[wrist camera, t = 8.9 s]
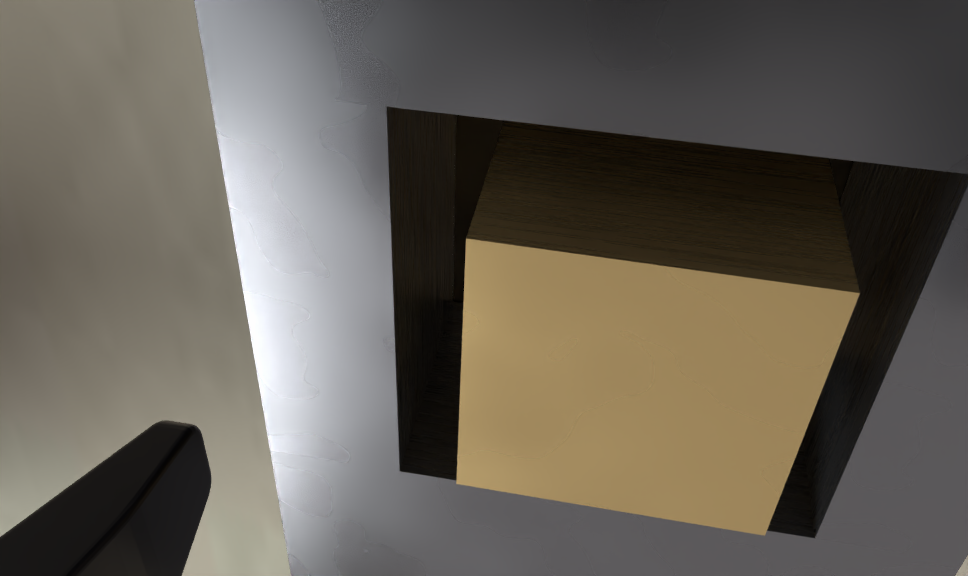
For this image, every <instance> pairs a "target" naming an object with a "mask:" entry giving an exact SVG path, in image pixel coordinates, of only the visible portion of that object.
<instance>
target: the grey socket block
mask: <svg viewBox="0 0 968 576" xmlns="http://www.w3.org/2000/svg"><path fill="white" fill-rule="evenodd" d="M194 3H195V9H196V15H197V21H198V27H199V33H200V39H201V45H202V51H203V56H204V62H205V68H206V74H207V80H208V86H209V92H210V98H211V104H212V110H213V116H214V121H215V127H216V133H217V139H218V145H219V151H220V157H221V163H222V169H223V175H224V181H225V187H226V192H227V198H228V204H229V210H230V216H231V222H232V228H233V234H234V240H235V246H236V252H237V258H238V263H239V269H240V275H241V281H242V287H243V293H244V299H245V305H246V311H247V317H248V323H249V328H250V334H251V340H252V346H253V352H254V358H255V364H256V370H257V376H258V382H259V388H260V394H261V399H262V405H263V411H264V417H265V423H266V429H267V435H268V441H269V447H270V453H271V459H272V464H273V470H274V476H275V482H276V488H277V494H278V500H279V506H280V512H281V518H282V524H283V530H284V535H285V541H286V547H287V553H288V559H289V565H290V571H291V576H955V575H956V573H957V572H958V570H959V568H960V567H961V565H962V564H963V562H964V560H965V559H966V557H967V555H968V0H194ZM456 115H463V116H471V117H480V118H488V119H497V120H506V121H514V122H523V123H532V124H540V125H549V126H557V127H566V128H575V129H583V130H592V131H601V132H609V133H618V134H626V135H635V136H644V137H652V138H661V139H669V140H678V141H687V142H695V143H704V144H713V145H721V146H730V147H738V148H747V149H756V150H764V151H773V152H781V153H790V154H799V155H807V156H816V157H825V158H833V159H842V160H850V161H854V162H853V165H852V168H851V170H850V173H849V176H848V179H847V182H846V185H845V188H844V191H843V194H842V197H841V200H840V203H839V205H840V209H841V213H842V218H843V222H844V226H845V231H846V235H847V239H848V244H849V248H850V252H851V257H852V261H853V265H854V270H855V274H856V278H857V283H858V287H859V291H860V294H859V297H858V299H857V302H856V305H855V307H854V310H853V312H852V315H851V317H850V320H849V322H848V325H847V328H846V330H845V333H844V335H843V338H842V340H841V343H840V345H839V348H838V350H837V353H836V356H835V358H834V361H833V363H832V366H831V368H830V371H829V373H828V376H827V379H826V381H825V384H824V386H823V389H822V391H821V394H820V396H819V399H818V402H817V404H816V407H815V409H814V412H813V414H812V417H811V419H810V422H809V424H808V427H807V430H806V432H805V435H804V437H803V440H802V442H801V445H800V447H799V450H798V453H797V455H796V458H795V460H794V463H793V465H792V468H791V470H790V473H789V475H788V478H787V481H786V483H785V486H784V488H783V491H782V493H781V496H780V498H779V501H778V504H777V506H776V509H775V511H774V514H773V516H772V519H771V521H770V524H769V527H768V529H767V532H766V534H765V536H764V535H758V534H752V533H746V532H740V531H734V530H728V529H722V528H716V527H710V526H704V525H698V524H692V523H686V522H680V521H674V520H668V519H662V518H656V517H650V516H644V515H639V514H633V513H627V512H621V511H615V510H609V509H603V508H597V507H591V506H585V505H579V504H573V503H567V502H561V501H555V500H549V499H543V498H537V497H531V496H525V495H519V494H513V493H507V492H501V491H495V490H489V489H484V488H478V487H472V486H466V485H460V484H456V481H457V456H458V431H459V405H460V380H461V354H462V329H463V304H464V303H460V302H453V277H454V219H455V162H456Z"/></svg>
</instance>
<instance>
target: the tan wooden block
mask: <svg viewBox="0 0 968 576" xmlns="http://www.w3.org/2000/svg"><path fill="white" fill-rule="evenodd" d="M859 294H860V291H859V287H858V283H857V278H856V274H855V270H854V265H853V261H852V257H851V252H850V248H849V244H848V239H847V235H846V231H845V226H844V222H843V218H842V213H841V209H840V205H839V200H838V196H837V192H836V187H835V183H834V179H833V174H832V170H831V165H830V161H829V158H825V157H816V156H807V155H799V154H790V153H781V152H773V151H764V150H756V149H747V148H738V147H730V146H721V145H713V144H704V143H695V142H687V141H678V140H669V139H661V138H652V137H644V136H635V135H626V134H618V133H609V132H601V131H592V130H583V129H575V128H566V127H557V126H549V125H540V124H532V123H523V122H514V121H506V120H504V123H503V126H502V129H501V132H500V135H499V138H498V142H497V145H496V148H495V151H494V154H493V157H492V160H491V163H490V166H489V169H488V172H487V176H486V179H485V182H484V185H483V188H482V191H481V194H480V197H479V200H478V203H477V206H476V209H475V213H474V216H473V219H472V222H471V225H470V228H469V231H468V234H467V237H466V253H465V278H464V304H463V329H462V354H461V380H460V405H459V431H458V456H457V481H456V484H460V485H466V486H472V487H478V488H484V489H489V490H495V491H501V492H507V493H513V494H519V495H525V496H531V497H537V498H543V499H549V500H555V501H561V502H567V503H573V504H579V505H585V506H591V507H597V508H603V509H609V510H615V511H621V512H627V513H633V514H639V515H644V516H650V517H656V518H662V519H668V520H674V521H680V522H686V523H692V524H698V525H704V526H710V527H716V528H722V529H728V530H734V531H740V532H746V533H752V534H758V535H764V536H765V534H766V532H767V529H768V527H769V524H770V521H771V519H772V516H773V514H774V511H775V509H776V506H777V504H778V501H779V498H780V496H781V493H782V491H783V488H784V486H785V483H786V481H787V478H788V475H789V473H790V470H791V468H792V465H793V463H794V460H795V458H796V455H797V453H798V450H799V447H800V445H801V442H802V440H803V437H804V435H805V432H806V430H807V427H808V424H809V422H810V419H811V417H812V414H813V412H814V409H815V407H816V404H817V402H818V399H819V396H820V394H821V391H822V389H823V386H824V384H825V381H826V379H827V376H828V373H829V371H830V368H831V366H832V363H833V361H834V358H835V356H836V353H837V350H838V348H839V345H840V343H841V340H842V338H843V335H844V333H845V330H846V328H847V325H848V322H849V320H850V317H851V315H852V312H853V310H854V307H855V305H856V302H857V299H858V297H859Z"/></svg>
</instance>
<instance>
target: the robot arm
mask: <svg viewBox="0 0 968 576" xmlns="http://www.w3.org/2000/svg"><path fill="white" fill-rule="evenodd" d="M210 488H211V471H210V467H209V463H208V459H207V454H206V450H205V446H204V441H203V437H202V434H201V431H200V430H199V428H198V427H197V426H195V425H192V424H186V423H180V422H174V421H160V422H158V423H155V424H154V425H152V426H151V427H149V428H148V429H147V430H145V431H144V432H143V433H141V434H140V435H138V436H137V437H136V438H134V439H133V440H132V441H130V442H129V443H128V444H126V445H125V446H124V447H122V448H121V449H119V450H118V451H117V452H115V453H114V454H113V455H111V456H110V457H109V458H107V459H106V460H104V461H103V462H102V463H100V464H99V465H98V466H96V467H95V468H94V469H92V470H91V471H89V472H88V473H87V474H85V475H84V476H83V477H81V478H80V479H79V480H77V481H76V482H74V483H73V484H72V485H70V486H69V487H68V488H66V489H65V490H64V491H62V492H61V493H59V494H58V495H57V496H55V497H54V498H53V499H51V500H50V501H49V502H47V503H46V504H44V505H43V506H42V507H40V508H39V509H38V510H36V511H35V512H34V513H32V514H31V515H29V516H28V517H27V518H25V519H24V520H23V521H21V522H20V523H19V524H17V525H16V526H15V527H13V528H12V529H10V530H9V531H8V532H6V533H5V534H4V535H2V536H1V537H0V576H182V573H183V570H184V567H185V564H186V561H187V558H188V555H189V552H190V549H191V546H192V543H193V541H194V538H195V535H196V532H197V529H198V526H199V523H200V520H201V517H202V514H203V511H204V508H205V505H206V502H207V499H208V496H209V492H210Z"/></svg>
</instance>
